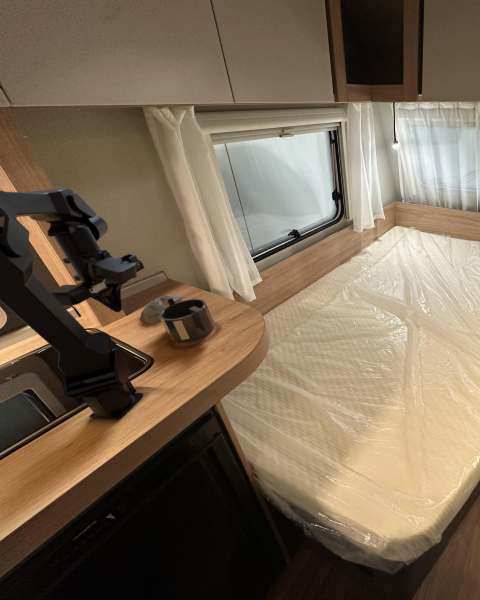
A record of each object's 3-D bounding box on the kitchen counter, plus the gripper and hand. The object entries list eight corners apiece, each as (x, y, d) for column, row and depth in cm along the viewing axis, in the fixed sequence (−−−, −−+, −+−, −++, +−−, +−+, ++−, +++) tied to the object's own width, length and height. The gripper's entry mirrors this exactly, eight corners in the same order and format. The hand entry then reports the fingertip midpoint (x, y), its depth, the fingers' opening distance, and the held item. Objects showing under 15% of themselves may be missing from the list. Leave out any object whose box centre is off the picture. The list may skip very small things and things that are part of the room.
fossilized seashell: (133, 315, 94) (134, 293, 92) (172, 309, 103) (173, 289, 101) (153, 330, 90) (154, 308, 88) (191, 322, 100) (193, 302, 97)
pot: (193, 351, 78) (178, 321, 74) (156, 333, 86) (140, 305, 82) (230, 329, 86) (219, 300, 82) (193, 314, 94) (181, 287, 90)
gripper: (74, 267, 59) (116, 334, 67) (149, 235, 75) (176, 292, 83) (21, 268, 60) (69, 334, 68) (107, 236, 76) (137, 292, 84)
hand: (118, 311), depth 76 cm, fingers closed
